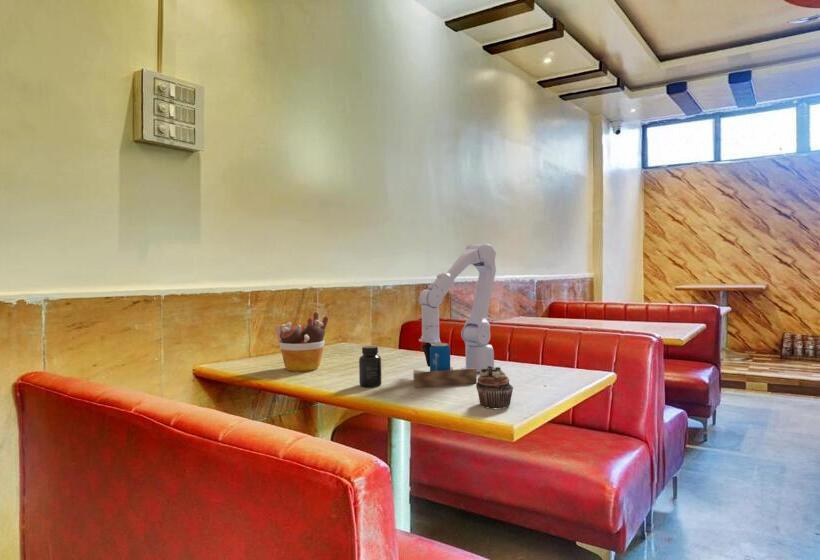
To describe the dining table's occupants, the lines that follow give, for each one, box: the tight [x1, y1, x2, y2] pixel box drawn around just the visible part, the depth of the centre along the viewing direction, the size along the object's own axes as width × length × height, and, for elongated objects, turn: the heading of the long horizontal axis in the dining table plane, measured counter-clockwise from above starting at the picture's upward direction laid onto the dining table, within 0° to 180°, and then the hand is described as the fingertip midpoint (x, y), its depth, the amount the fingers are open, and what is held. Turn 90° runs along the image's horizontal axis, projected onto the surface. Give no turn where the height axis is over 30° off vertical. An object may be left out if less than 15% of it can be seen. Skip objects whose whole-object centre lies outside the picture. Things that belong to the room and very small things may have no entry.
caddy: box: [412, 366, 478, 389], centre depth 174 cm, size 20×13×4 cm, turn 107°
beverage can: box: [429, 342, 451, 371], centre depth 173 cm, size 6×6×12 cm
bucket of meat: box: [274, 312, 329, 373], centre depth 198 cm, size 20×16×20 cm
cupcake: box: [475, 366, 514, 409], centre depth 144 cm, size 10×10×10 cm
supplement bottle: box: [358, 345, 382, 389], centre depth 169 cm, size 7×7×12 cm
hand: (431, 366), depth 181 cm, fingers closed
